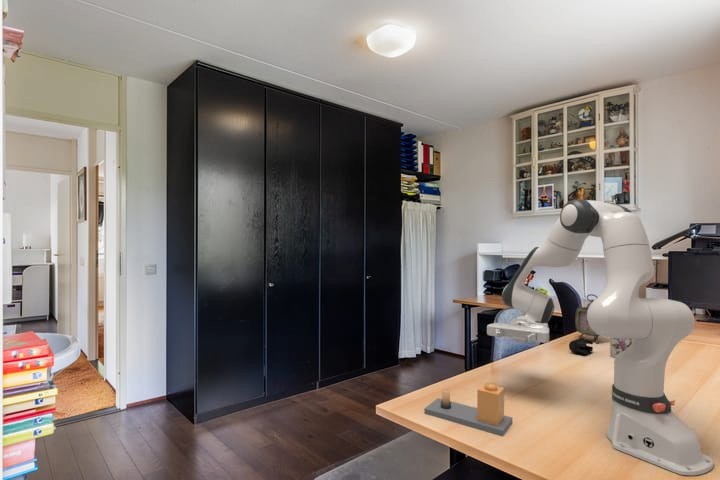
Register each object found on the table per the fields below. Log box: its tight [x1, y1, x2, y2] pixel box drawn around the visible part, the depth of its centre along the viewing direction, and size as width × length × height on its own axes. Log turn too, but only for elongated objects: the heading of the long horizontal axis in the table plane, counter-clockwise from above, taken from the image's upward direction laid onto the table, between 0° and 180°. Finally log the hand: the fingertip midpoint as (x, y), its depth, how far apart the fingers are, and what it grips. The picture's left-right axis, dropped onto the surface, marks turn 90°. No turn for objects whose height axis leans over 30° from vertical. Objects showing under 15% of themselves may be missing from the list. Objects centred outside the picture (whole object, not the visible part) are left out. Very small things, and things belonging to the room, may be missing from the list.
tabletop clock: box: [574, 293, 601, 344], centre depth 212 cm, size 14×9×25 cm, turn 17°
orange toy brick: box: [476, 382, 505, 426], centre depth 116 cm, size 6×6×10 cm
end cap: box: [568, 336, 594, 357], centre depth 189 cm, size 10×7×7 cm
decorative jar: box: [609, 337, 634, 359], centre depth 180 cm, size 12×12×18 cm
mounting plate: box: [423, 389, 513, 437], centre depth 120 cm, size 24×10×6 cm, turn 54°
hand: (512, 336), depth 130 cm, fingers open, 8 cm apart
